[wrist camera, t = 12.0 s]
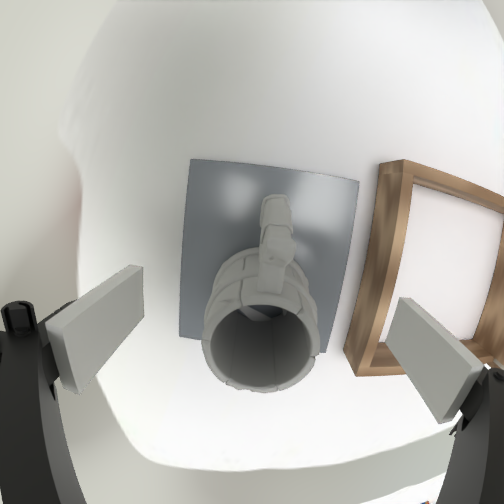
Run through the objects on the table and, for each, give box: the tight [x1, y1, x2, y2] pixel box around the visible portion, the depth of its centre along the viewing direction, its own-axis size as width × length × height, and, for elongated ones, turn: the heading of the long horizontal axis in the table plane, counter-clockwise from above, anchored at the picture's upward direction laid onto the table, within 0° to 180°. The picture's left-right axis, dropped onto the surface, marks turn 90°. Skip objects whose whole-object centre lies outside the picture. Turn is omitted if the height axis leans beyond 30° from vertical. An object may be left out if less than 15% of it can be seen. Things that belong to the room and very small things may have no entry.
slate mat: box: [179, 159, 359, 353], centre depth 23 cm, size 16×14×1 cm
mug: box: [201, 194, 320, 393], centre depth 17 cm, size 8×12×12 cm, turn 173°
